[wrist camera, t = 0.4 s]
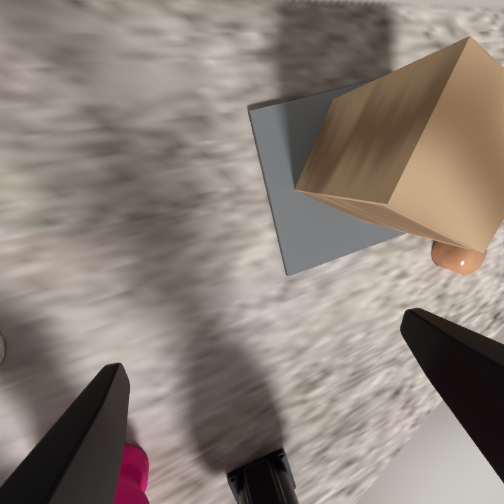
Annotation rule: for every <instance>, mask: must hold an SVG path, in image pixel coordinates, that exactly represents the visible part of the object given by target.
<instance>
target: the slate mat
mask: <svg viewBox="0 0 504 504" xmlns="http://www.w3.org/2000/svg"><path fill="white" fill-rule="evenodd" d="M373 81H374V80H373ZM370 82H372V81H369V82H365V83H360V84H356V85H352V86H348V87H344V88H340V89H336V90H332V91H328V92H324V93H320V94H316V95H312V96H308V97H304V98H300V99H296V100H292V101H288V102H284V103H280V104H275V105H271V106H267V107H263V108H259V109H255V110H251V111H249V112H248V113H249V117H250V122H251V126H252V130H253V134H254V139H255V143H256V147H257V151H258V156H259V160H260V164H261V169H262V173H263V177H264V181H265V186H266V190H267V194H268V199H269V203H270V207H271V211H272V216H273V220H274V224H275V229H276V233H277V237H278V241H279V246H280V250H281V254H282V258H283V263H284V267H285V271H286V275H287V276H291V275H293V274H296V273H299V272H302V271H304V270H307V269H310V268H313V267H315V266H318V265H321V264H323V263H326V262H329V261H332V260H334V259H337V258H340V257H343V256H345V255H348V254H351V253H354V252H356V251H359V250H362V249H365V248H367V247H370V246H373V245H376V244H378V243H381V242H384V241H387V240H389V239H392V238H395V237H397V236H400V235H403V234H406V233H405V232H401V231H397V230H394V229H390V228H386V227H383V226H379V225H375V224H371V223H368V222H364V221H361V220H359V219H357V218H354V217H352V216H350V215H348V214H346V213H344V212H341V211H339V210H337V209H335V208H333V207H331V206H328V205H326V204H324V203H322V202H320V201H318V200H315V199H313V198H311V197H309V196H307V195H305V194H303V193H300V192H298V191H296V190H295V188H296V185H297V183H298V180H299V178H300V176H301V173H302V171H303V169H304V166H305V164H306V162H307V159H308V157H309V155H310V152H311V150H312V148H313V145H314V143H315V141H316V138H317V136H318V134H319V131H320V129H321V127H322V124H323V122H324V120H325V117H326V115H327V113H328V110H329V108H330V106H331V103H332V101H333V99H335V98H337V97H339V96H342V95H344V94H346V93H348V92H350V91H352V90H355V89H357V88H359V87H361V86H363V85H365V84H368V83H370Z"/></svg>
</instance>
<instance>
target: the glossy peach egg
mask: <svg viewBox="0 0 504 504" xmlns="http://www.w3.org/2000/svg"><path fill="white" fill-rule="evenodd" d="M486 252H487V249H486V250H485V252H484V253H480V252H476V251H472V250H469V249H465V248H461V247H457V246H454V245H450V244H446V243H442V242H439V241H436V242H435V244H434V246H433V249H432V260H433V262H434V263H435V264H436V265H438V266H440V267H443V268H446V269H449V270H451V271H454V272H457V273H460V274H463V275H468V274H471V273H473V272H475V271H476V270H477V269H478V268H479V267H480V266H481V265H482V263H483V261H484V259H485V256H486Z"/></svg>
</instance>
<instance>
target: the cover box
mask: <svg viewBox="0 0 504 504" xmlns="http://www.w3.org/2000/svg"><path fill="white" fill-rule="evenodd" d="M295 190H296V191H298V192H300V193H303V194H305V195H307V196H309V197H311V198H313V199H315V200H318V201H320V202H322V203H324V204H326V205H328V206H331V207H333V208H335V209H337V210H339V211H341V212H344V213H346V214H348V215H350V216H352V217H354V218H357V219H359V220H361V221H364V222H368V223H371V224H375V225H379V226H383V227H386V228H390V229H394V230H397V231H401V232H405V233H409V234H412V235H416V236H420V237H424V238H427V239H431V240H435V241H439V242H442V243H446V244H450V245H454V246H457V247H461V248H465V249H469V250H472V251H476V252H480V253H484V252H485V250H486V249H487V247H488V245H489V243H490V242H491V240H492V238H493V236H494V235H495V233H496V231H497V230H498V228H499V226H500V224H501V223H502V221H503V219H504V67H503V66H502V65H500V64H499V63H498V62H497V61H496V60H495V59H494V58H493V57H492V56H491V55H490V54H489V53H488V52H487V51H486V50H485V49H484V48H482V47H481V46H480V45H479V44H478V43H477V42H476V41H475V40H474V39H473V38H472V37H471V36H469V37H467V38H465V39H463V40H460V41H458V42H456V43H454V44H452V45H450V46H448V47H445V48H443V49H441V50H439V51H437V52H435V53H432V54H430V55H428V56H426V57H424V58H422V59H419V60H417V61H415V62H413V63H411V64H409V65H406V66H404V67H402V68H400V69H398V70H396V71H393V72H391V73H389V74H387V75H385V76H383V77H381V78H378V79H376V80H374V81H372V82H370V83H368V84H365V85H363V86H361V87H359V88H357V89H355V90H352V91H350V92H348V93H346V94H344V95H342V96H339V97H337V98H335V99H333V101H332V103H331V106H330V108H329V110H328V113H327V115H326V117H325V120H324V122H323V124H322V127H321V129H320V131H319V134H318V136H317V138H316V141H315V143H314V145H313V148H312V150H311V152H310V155H309V157H308V159H307V162H306V164H305V166H304V169H303V171H302V173H301V176H300V178H299V180H298V183H297V185H296V188H295Z"/></svg>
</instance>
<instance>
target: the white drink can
mask: <svg viewBox="0 0 504 504" xmlns="http://www.w3.org/2000/svg"><path fill="white" fill-rule="evenodd" d="M4 353H5V345H4V341H3V338H2V336H1V334H0V364H1V362H2V360H3V357H4Z"/></svg>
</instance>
